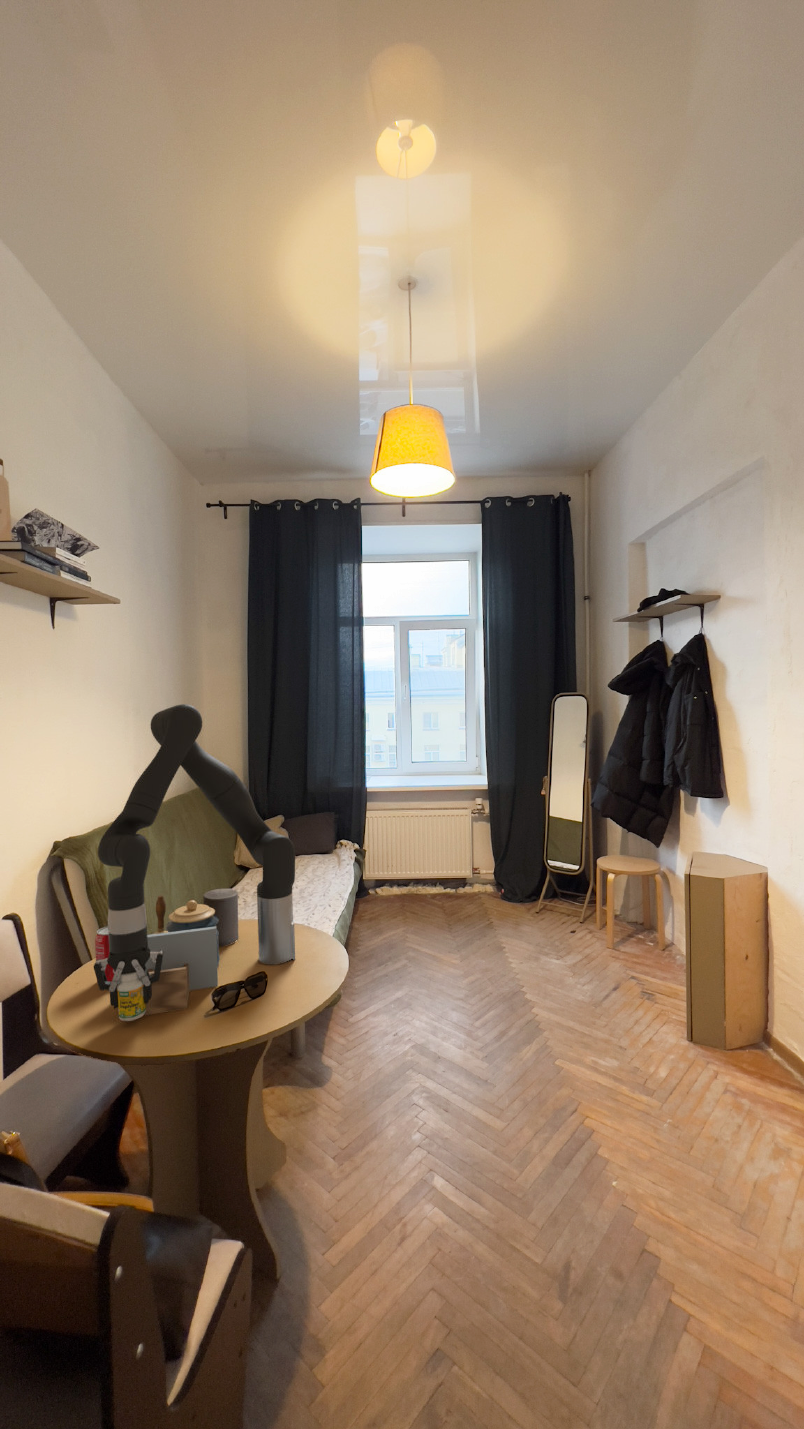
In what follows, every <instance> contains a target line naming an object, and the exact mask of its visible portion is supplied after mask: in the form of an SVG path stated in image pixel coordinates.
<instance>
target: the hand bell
mask: <svg viewBox="0 0 804 1429" xmlns="http://www.w3.org/2000/svg"><path fill="white" fill-rule="evenodd" d="M155 903H156V904H155V913H156V917H157V931H156V932H155V933H154V934H160V933H168V931H167V930H165V914H166V912H167V911H166V909H167V907H166V906H167V904H166V901H165V898H164V895H162V894H161V895H158V896H157V900H156V902H155Z"/></svg>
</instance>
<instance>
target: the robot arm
mask: <svg viewBox="0 0 804 1429" xmlns="http://www.w3.org/2000/svg"><path fill="white" fill-rule="evenodd" d="M202 728H203V718H202V714H201V713H200V712H199V710H198V709H197V708H196V707H195V706H192V705H191V704H187V703H184V704H176V705H174V706H173V705H172V706H171V707H167V708H166V709H163V710H160V711H158V712H156V713H155V714H154V715H153V716H152V718H151V721H150V730H151V731H150V732H151V734H152V736H153V738H154V739H155V741H156V742H157V743H158V744H159V745H160V747H159V749H158V751H157V753H155V756H154V757H153V758H152V760H151V762H150V763H149V764H148V765H147V767H146V768H145V769H144V771H143V772H142V774H140V775H139V777H138V779H137V780H136V782H135V783H134V785H133V787H132V789H131V791H130V793H129V796H128V797H127V801H126V803H125V805H124V807H123V810H121V812H120V813H119V815H117V816H116V818H115V819H114V820H113V822H112V823H111V825H110V826H109V827H108V828H107V829H106V831H105V832H104V834H103V836H102V837H101V838H100V841H99V843H98V848H97V857H98V860H99V861H100V862H101V864H103V865H105V866H107V867H108V866H109V867H118V868H122V872H121V875H120V876H118V877H115V878H113V879H112V880H110V881H109V883H108V886H107V900H108V902H107V903H108V904H107V906H108V912H107V913H108V914H107V926H108V933H109V956H108V958H106V959H103V960H101V959H98V960H96V959H95V962H94V964H93V970H94V974H95V977H96V982H97V984H98V988H99V990H100V991H102V992H103V991H108V992H109V1003H110V1004H109V1005H110V1006H111V1007H113V1009H118V997H117V983H118V981H119V978H120V975H122V974H129V973H134V972H137V973H138V975H139V977H140V978H141V979H142V981H143V983H144V1003H148V1001H149V1000H150V999H151V996H152V983H154V982H157V981H159V977H160V972H161V966H162V960H163V954H164V951H163V950H159V951H158V952H151V951H150V949H149V948H148V938H147V935H148V923H147V922H148V921H147V920H148V919H147V910H146V904H145V888H144V886H145V884H144V883H145V879H146V875H147V870H148V866H149V862H150V858H151V847H150V844H149V840H148V839H147V838H146V837H145V836H144V835H142V834H139V833H138V831H140V830H142V829H145V828H149V827H150V826H152V825H153V824H154V822H155V821H156V818H157V817H158V814H159V812H160V809H161V806H162V804H163V801H164V799H165V797H166V794H167V793H168V789H169V788H170V786H171V784H172V782H173V780H174V777H175V776H176V774H177V772H178V770H179V769H180V767H181V768H182V769H183V770H184V771H185V772H186V774H187V775H188V777H189V778H190V779H191V780H192V781H193V783H194V784H195V785H196V786H197V787H198V788H199V790H200V791H201V792H202V794H203V795H204V796H205V798H206V799H207V801H209V803H210V804H211V806H212V807H213V808H214V809H215V811H217V813H219V815H220V816H221V817H222V818H223V819H224V821H225V822H226V823H227V824H228V825H229V826H230V827H231V828H232V829H233V830H234V832H236V834H237V835H238V837H239V838H240V840H241V841H242V842H243V844H244V846H245V848H246V850H247V851H248V852H249V854H250V856H251V858H252V859H253V860H254V862H256V863H257V864H258V865H260V866H262V880H261V881H259V882H258V884H257V886H256V900H257V901H256V902H257V903H256V905H257V907H256V908H257V936H258V937H257V938H258V961H259V962H260V961H261V962H260V963H262V964H264V963H265V965H270V964H274V965H279V963H281V964H285V963H287V961H288V962H290V961H292V960H291V959H293V960H295V959H296V942H295V941H296V940H295V939H296V936H295V922H294V908H293V906H294V903H293V901H294V899H293V887H294V886H293V885H294V883H295V879H296V850H295V846H294V843H293V841H292V840H291V838H289V837H288V836H286V835H283V834H280V833H277V832H275V831H274V830H273V829H271V828H270V827H269V826H268V825H267V823H266V822H265V821H264V819H262V817H261V816H260V815H259V813H258V812H257V810H256V807H255V804H254V802H253V798H252V796H251V794H250V792H249V790H248V789H247V787H246V785H245V784H244V783H243V781H242V780H241V779H240V777H239V775H237V773H235V771H234V770H233V769H232V768H230V766H228V765H226V764H225V763H223V762H222V761H221V760H219V759H217V758H216V757H214V756H213V755H211V754H210V753H208V752H206V750H204V748H202V747H201V745H199V744H198V742H197V739H198V737H199V736H200V733H201V732H202V730H203V729H202ZM149 958H152V961H153V962H154V963H156V965H155V971H154V974H153V975H151V976H150V974H149V972H148V969H147V967H146V965H145V964H146V962H147V961H148V959H149ZM289 960H290V961H289ZM107 964H109V965H110V966H111V967H112V968H113V969H114V970H115V971H116V972H115V974H114V977H113V980H112V982H109V981H107V978H106V974H105V971H104V970H105V969H106V965H107Z"/></svg>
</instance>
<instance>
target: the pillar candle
mask: <svg viewBox="0 0 804 1429" xmlns="http://www.w3.org/2000/svg"><path fill="white" fill-rule="evenodd" d="M238 894H239V891H237V889H233V888H216V889H212V890H209V891H206V892H205V893H203V896H202V897H203V899H202V901H203V904H204V905H207V906H209V907H210V908H213V909H214V910H215V913H214V916H216V917H217V918H218V919H219V921H218V923H217V930H218V931H219V935H218V941H219V948H220V947H226V945H227V946H230V945H232V944H231V943H233V942H235V941H236V940H237V941H239V895H238ZM237 941H236V942H237ZM236 942H235V943H236ZM229 944H230V945H229ZM233 944H234V943H233Z"/></svg>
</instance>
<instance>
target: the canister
mask: <svg viewBox="0 0 804 1429" xmlns="http://www.w3.org/2000/svg"><path fill="white" fill-rule="evenodd" d="M214 913H215V910H214V909H213V908H210V907H209V906H207V905H204V904H202V903H197V901H196V900H194V899H192V900H188V901H187V903H186V905H183V906H180V907H177V908H176V909H175V910H174V911H173V912H171V913H170V914H169V915H168V920H169V922H167V923H166V924H165V926H164V929H165V931H166V932H176V931H184V930H192V929H200V928H208V927H216V941H217V968H218V967H219V966H220V959H221V958H220V956H221V954H220V947H219V941H218V935H219V931H218V930H217V923H218V921H219V919H218V918H217V917H216V916H214Z"/></svg>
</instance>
